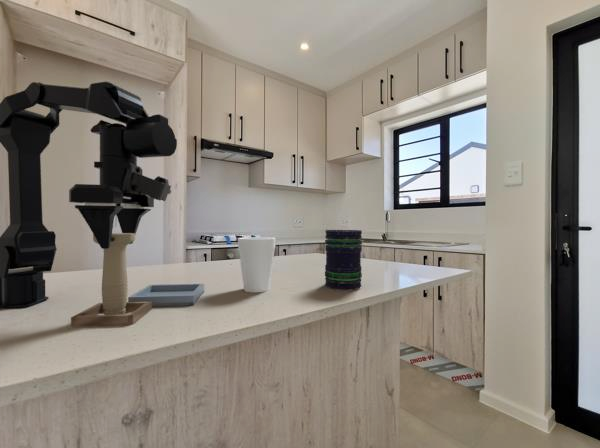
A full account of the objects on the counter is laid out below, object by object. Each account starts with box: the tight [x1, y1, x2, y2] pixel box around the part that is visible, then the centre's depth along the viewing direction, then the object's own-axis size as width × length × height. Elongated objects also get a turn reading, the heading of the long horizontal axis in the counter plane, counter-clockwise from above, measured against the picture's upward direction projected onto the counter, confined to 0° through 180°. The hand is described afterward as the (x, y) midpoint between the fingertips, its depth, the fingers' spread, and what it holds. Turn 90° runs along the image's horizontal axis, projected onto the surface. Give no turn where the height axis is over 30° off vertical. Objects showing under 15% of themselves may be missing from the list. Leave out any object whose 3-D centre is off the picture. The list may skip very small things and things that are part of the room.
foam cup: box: [237, 236, 277, 293], centre depth 76 cm, size 10×9×13 cm
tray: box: [127, 283, 205, 307], centre depth 67 cm, size 13×12×2 cm
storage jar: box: [324, 229, 363, 291], centre depth 81 cm, size 10×10×15 cm
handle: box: [92, 232, 136, 315], centre depth 54 cm, size 5×6×15 cm
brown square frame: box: [70, 301, 153, 327], centre depth 54 cm, size 10×9×2 cm
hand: (118, 246), depth 54 cm, fingers open, 9 cm apart
